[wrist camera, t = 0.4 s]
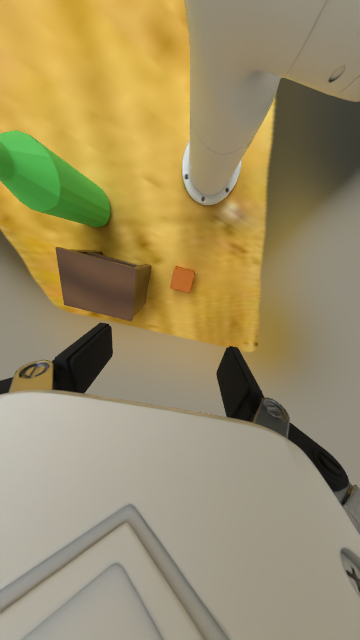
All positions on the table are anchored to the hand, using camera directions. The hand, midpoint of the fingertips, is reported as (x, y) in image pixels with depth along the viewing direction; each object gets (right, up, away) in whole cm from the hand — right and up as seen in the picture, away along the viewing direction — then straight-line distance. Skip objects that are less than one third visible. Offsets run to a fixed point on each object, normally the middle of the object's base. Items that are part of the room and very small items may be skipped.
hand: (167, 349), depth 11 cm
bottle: (-21, +31, +23) cm, 44 cm away
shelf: (-17, +15, +31) cm, 38 cm away
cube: (+2, +15, +30) cm, 33 cm away
